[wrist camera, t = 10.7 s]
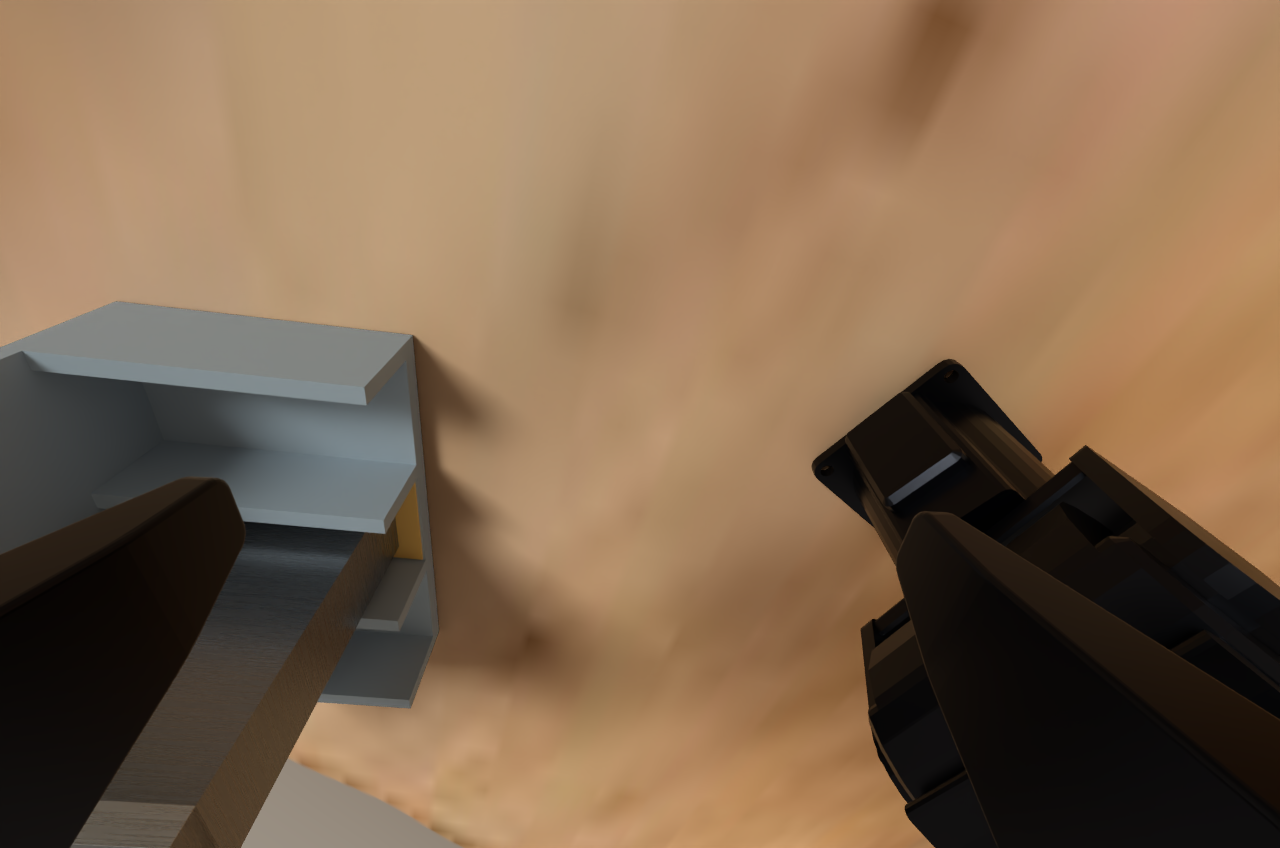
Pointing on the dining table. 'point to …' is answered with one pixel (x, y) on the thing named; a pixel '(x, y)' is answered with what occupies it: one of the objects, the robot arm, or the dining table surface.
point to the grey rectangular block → (243, 690)
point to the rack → (233, 447)
